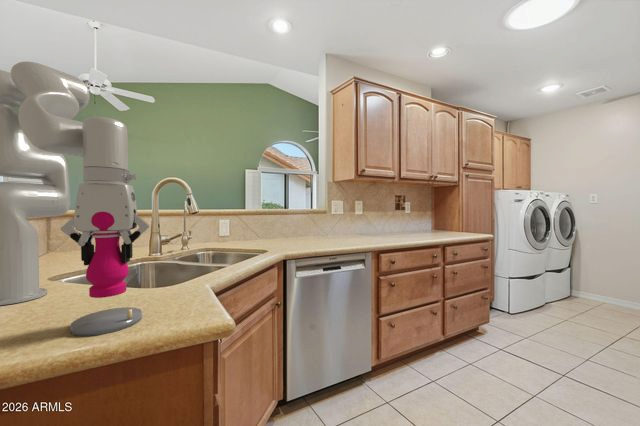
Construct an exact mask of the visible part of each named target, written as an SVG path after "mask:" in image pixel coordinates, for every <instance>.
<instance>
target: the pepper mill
mask: <svg viewBox="0 0 640 426" xmlns="http://www.w3.org/2000/svg"><path fill="white" fill-rule="evenodd" d="M114 222H115V220H114V217H113V216H112V215H111V214H110V213H108V212H97V213H95V214H94V215H93V216H92V219H91V223H92V225H93V226H95V227H97V228H99V231H94V232H92V233H93V236H92V237H93V239H94V241H95V243H94V244H95V245H94V255H93V258H92V260H91V262H90V264H89V265H87V269H86V272H85V279H86V281H88V282H89V283H90V284H91V286H90V287H89V289H88V290H89V291H88V294H89V295H88V296H89V297H90V298H94V299H101V298H109V297H115V296H119V295H121V294H124V293H126V291H127V282H126V281H124V280H125V279H126V278H127V277H128V275H129V271H130V270H129V269H130V268H129V265H128V262H127V263H122V256H121V246H120V237H122V236H121V234H120V232H119V231H110V230H107V229H108V228H109V227H111V226H112V225H113V224H114Z"/></svg>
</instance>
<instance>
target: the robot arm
mask: <svg viewBox="0 0 640 426" xmlns="http://www.w3.org/2000/svg"><path fill="white" fill-rule="evenodd" d="M90 97H91V95H90V91H89V88H88V86H87V84H86V83H85V82H84V81H83V79H82V80H81V79H80V78H78V77H76V76H75V75H72V74H69V73H67V72H63V71H60V70H58V69H55V68H52V67H51V66H48V65H44V64H41V63H38V62H33V61H20V62H18V63H15V64H13V66H12V67H11V69H10V71H6V70H2V69H0V177H4V178H12V179H13V178H14V179H26V180H37V181H39V180H40V181H41V182H42V183H32V182H31V183H30V182H19V181H18V182H17V181H0V306H5V305H11V304H18V303H23V302H28V301H32V300H35V299H39V298H41V297H44V296H45V295H47V294H48V289H47V288H44V287H43V288H42V287H40V257H39V256H40V253H39V252H40V246H39V244H40V243H39V233H38V230H37V228H36V227H35V226H34V225H33V224H32V223H31V222H30V221H28V219H26V218H40V217H41V218H43V217H44V218H45V217H46V218H47V217H48V218H49V217H61V216H64V215H65V214H67V213H68V212H69V211H70V210H69V209H70V207H71V190H70V188H71V186H70V180H69V179H70V176H69V174H70V173H69V166H68V161H67V160H66V157H65V156H64V155H67V156H73V157H80V158H82V169H83V170H82V172H83V173H82V174H83V175H82V177H83V179H82V180H83V183H80V184H79V186H78V187H77V188H78V189H77V191H76V192H77V193H76V198H75V204H74V205H75V206H74V216H72V217H71V218H70V219H69V220H68V221H67V222H65V224H63V225H62V226H61V227H60V231H61V232H63V233H64V234H65V235H67V236H69V238H70V239H72V240H73V241H74V242H75V243H77V245H78V246H79V247H80V255H81V256H80V259H81V262H83V266H84V267H85V266H88V265H89V264H90V262H91V260H92V258H93V255H94V252H95V245H94V243H93V242H92V241H93V239H94V237H92V236H93V233H92V232H94V231H99V228H97V227H95V226H93V225H92V223H91V219H92V216H93V215H94V214H95V213H97V212H108V213H110V214H111V215H112V216H113V217H114V220H115V222H114V224H113V225H112V226H111V227H109V228H108V229H107V230H110V231H119V232H120V234H121V236H120V237H121V239H122V240H123V241H122V242H123V244H121V246H120V250H121V256H122V263H127V264H128V263H129V262H130V260H131V259H133V256H134V255H133V243H134V242H135V241H136V240H137V239H138V238H139V237H140V236H142V235H143V234H144V233H145V232H146V231H147V230H149V228H150V225H149V224H148V223H147V222H146V221H145V220H143V219H142V218H141V217H140V216H139V215H138V208H137V200H136V193H135V189H134V185H130V181H135V180H137V179H136V178H137V176H136V173H132V172H130V171H129V161H128V159H129V158H128V157H129V154H128V149H129V148H128V145H129V143H128V142H129V140H128V128H127V126H126V124H125V123H124V122H122V121H120V120H118V119H114V118H111V117H105V116H89V117H86V118H85V119H83V121H80V120H75V119H74V118H75V117H76V116H77V115H78V113H79V111H81V110H83V109H85V108H86V107H87V106H88V104H89V102H90ZM12 107H13V108H16V109H18V112H16V111H15V110H13V108H12ZM137 227H138V228H137ZM134 229H136V230H135V231H133V233H132V231H131V230H134ZM78 231H79V232H78ZM81 232H82V233H81ZM92 243H93V244H92Z"/></svg>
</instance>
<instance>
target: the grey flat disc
mask: <svg viewBox="0 0 640 426" xmlns="http://www.w3.org/2000/svg"><path fill="white" fill-rule="evenodd" d="M142 318H143V311H142V309H140V308H136V307H130V306H129V307H127V306H126V307H116V308H109V309H104V310H100V311H94V312H93V313H89V314H86V315H83V316H80V317H79V318H77V319H75V320H73V321H72V322H71V324H70V333H71V335H74V336H77V337H78V336H79V337H93V336H100V335H105V334H106V335H107V334H110V333H115V332H119V331H122V330H124V329H127V328H129V327H132V326H134V325H136V324H137V323H139V322H140V321H141V320H142Z"/></svg>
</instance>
